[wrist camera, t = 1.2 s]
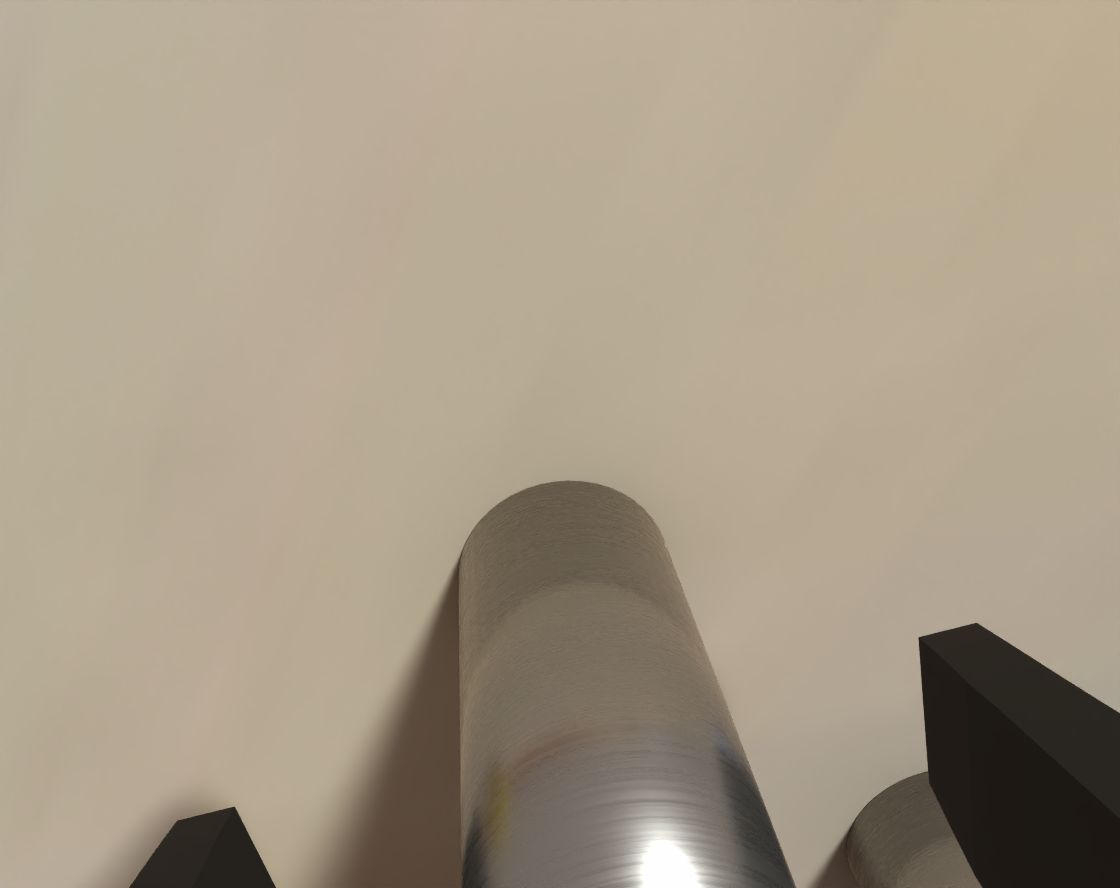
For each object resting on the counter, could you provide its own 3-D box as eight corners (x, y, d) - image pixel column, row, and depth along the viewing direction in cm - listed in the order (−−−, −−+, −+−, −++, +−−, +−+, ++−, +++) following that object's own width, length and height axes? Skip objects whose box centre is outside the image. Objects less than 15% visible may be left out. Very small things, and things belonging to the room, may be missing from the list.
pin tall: (647, 457, 13) (824, 887, 7) (683, 632, 15) (859, 1127, 8) (433, 510, 13) (415, 986, 7) (488, 680, 15) (515, 1211, 8)
